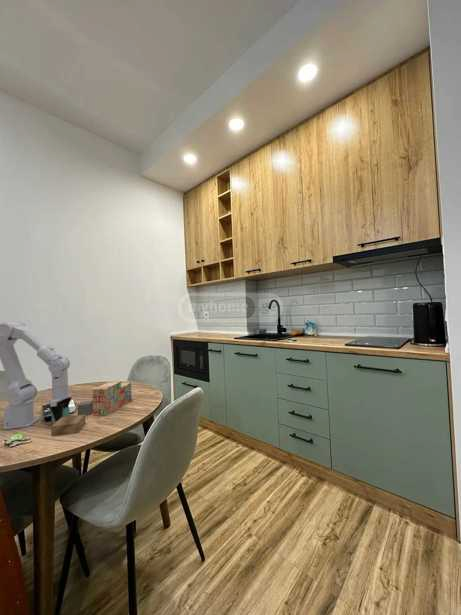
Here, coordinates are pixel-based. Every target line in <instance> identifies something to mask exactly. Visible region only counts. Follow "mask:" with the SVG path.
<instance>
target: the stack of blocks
mask: <svg viewBox="0 0 461 615" xmlns="http://www.w3.org/2000/svg"><path fill="white" fill-rule="evenodd" d="M92 394H93V396H92V401H93V416H96V417H100V416H101V417H106V416H108V415H109V414H112V413H113V412H116V411H117V410H118V409H120V408H121V407H123V406H124V405H126V404H127V403H129V402H131V401H132V384H131V382H121V381H108V382H105V383H104V384H102V385H99V386H98V387H97V386H96V387H95V388H92ZM130 400H131V401H130ZM125 403H126V404H125ZM122 405H123V406H122Z"/></svg>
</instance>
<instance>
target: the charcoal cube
mask: <svg viewBox="0 0 461 615" xmlns="http://www.w3.org/2000/svg"><path fill="white" fill-rule="evenodd" d="M92 413H94V405H93V400H88V401H81V402H80V403H79V404H78V405H77V416H78V415H85V417H86V416H90V415H92Z"/></svg>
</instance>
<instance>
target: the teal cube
mask: <svg viewBox="0 0 461 615" xmlns="http://www.w3.org/2000/svg"><path fill="white" fill-rule="evenodd" d="M70 411H71V410H70V406H68V407H64V408H63V412H62V417H70V416H71V415H70V414H71V413H70ZM56 422H57V421H55V419H54V416H53V413H52V412H51V425H53V424H55V423H56Z"/></svg>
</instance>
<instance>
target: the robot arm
mask: <svg viewBox="0 0 461 615" xmlns="http://www.w3.org/2000/svg"><path fill="white" fill-rule="evenodd" d="M18 340H23V342H25V343H26V344H27V345H29V346H30V347H31V348H32V349H34V350H35V351H36V355H37V357H38V358H40V360H42V361H43V362H44V363H45V364H46V365H47V366H48V367H47V368H48V371H49V372H50V375H51V393H52V395H51V396H52V397H51V401H49V404H48V409H49V410H50V412H51V414H52V413H53V416H54V419H55V421H58V420H59V419H60V418H62V412H63V408H64V407H70V403H71V401H72V399H73V398H72V394H70V391H69V380H68V379H69V378H68V377H69V376H68V372H69V371H68V369H69V368H70V366H71V362H70V360H69V359H68V357H65V356H63V355H61V354H60V353H58V352H57V351H56V350H55V348H54V347H53V346H50V345H45V344H44V343H43V342H42V341H41V340H40V339H39V338H38V337H37V335H36V334H34V333H33V332H32V331H31V328H30V327H29V326H28V325H27V324H25V322H23V321H15V322H14V321H13V322H10V321H9V322H7V321H5V322H4V321H3V322H0V361H1V364H2V367H3V370H4V372H5V374H6V377H7V381H8V383H9V385H8V387H7V389H6V393H7V397H6V401H7V403H9V404H8V405H7V406H5V408H4V412H3V428H2V430H3V429H4V430H11V429H12V430H13V429H20V428H26V427H28V428H29V427H30V426H32V425H33V424H34V423H36V422H37V421H38V420H39V417H36V418H35V408H34V407H35V406H34V405H35V404H34V403H35V402H34V401H35V397H36V396H37V394H38V388H37V387H36V386H35V385H34V384H33V382H32V380H29V379H28V378H26V375H25V372H24V370H23V368H22V365H21V362H20V359H19V357H18V354H17V351H16V349H15V346H14V345H15V344H16V342H17V341H18Z"/></svg>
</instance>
